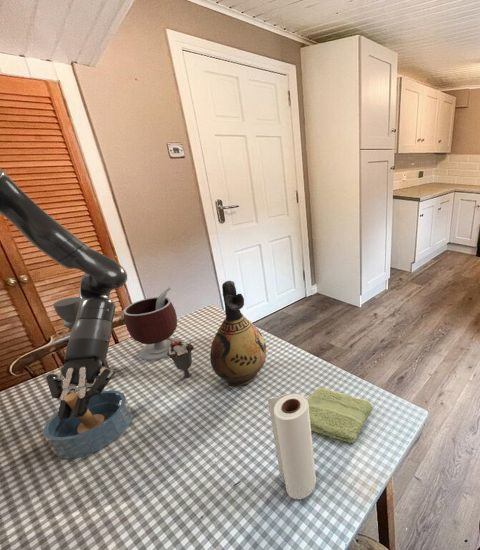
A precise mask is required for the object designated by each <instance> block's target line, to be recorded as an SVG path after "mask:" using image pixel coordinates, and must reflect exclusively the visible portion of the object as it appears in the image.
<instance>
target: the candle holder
mask: <svg viewBox="0 0 480 550" xmlns="http://www.w3.org/2000/svg"><path fill="white" fill-rule="evenodd" d="M52 306H53V308H54V311H55V313H56V316H58V317H59V318H60V319H62V320H63V322H62V326H63V327H64V328H65V327H66V328H67V329H68V331H69V333H70V334H71V330H72V328H73V326H74V324H75V321H76V317H77V313H78V309H79V306H80V299H79V296H74V297H67V298H64V299H60V300H58V301H55V302H54V303H53V304H52ZM104 363H105V367H106V368H108V369H111V368H110V365H109V363H108V360H107V358H106V359H105V360H104ZM98 377H99V375H98V376H97V377H96V380H97V379H98Z"/></svg>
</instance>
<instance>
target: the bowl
mask: <svg viewBox="0 0 480 550" xmlns="http://www.w3.org/2000/svg"><path fill="white" fill-rule="evenodd" d="M88 409H89V411H90V412H91V414H92V415H95V414H102V415H103V416H104V417H105V418H106V421H104V422H103V423H101V424H100V425H98V426H96V427H94V428H92V429H90V430H88V431H86V432H83V433H80V434H79V433H78V432H77V428H78V426H79V424H80V423H81V421H80V420H79V418H78V417H74V412H73V411H71V416H70V417H69V418H63V419H60V418H59V416H58V411H57V412H56V413H54V414H53V415H52V416H51V417H50V418H49V419H48V421H46V423H45V424H44V427H43V430H42V432H43V437H44V439H45V440H46V442H47V444H48V446H49V447H50V450H51V451H52V453H53V454H54V456H56V457H58V459H63V460H64V459H65V460H73V459H77V458H82V457H85V456H88V455H91V454H93V453H96V452H97V451H100V450H101V449H104V448H105V447H107V446H108V445H109V446H110V444H111V443H113V442H114V441H116V440H117V439H118V438H120V436H121V435H122V434H124V433H125V431H127V429H128V428H129V426H130V424H131V423H132V420H133V413H132V409H131V407H130V404H129V402H128V400H127V398H126V396H125V393H123V392H121V391H119V390H111V389H108V390H103V391H102V392H101V393H100V394H99V395H95V396H92V397H91V398H90V401H89V405H88Z"/></svg>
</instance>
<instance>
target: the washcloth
mask: <svg viewBox="0 0 480 550" xmlns="http://www.w3.org/2000/svg"><path fill="white" fill-rule="evenodd" d="M306 399H307V401H308V405H309V415H310V425H311V432H315V433H317V434H319V435H323V436H326V437H328V438H329V437H330V438H332V439H336V440H339V441H342V442H347V443H349V444H351V443H356V442H357V440H358V438H359V434H360V433H361V431H362V429H363V427H364V423H365V421H366V420H367V419H368V418H369V416H370V414H371V413H372V411H373V410H374V405H373V404H372V403H371V402H370V401H369V400H367V399H363V398H359V397H358V398H357V397H354V396H352V395H349V394H346V393H342V392H338V391H335V390H333V389H330V388H327V387H318V388H316V389H315V390H314V391H313V392H312V393H311V395H309V396H308V398H306Z"/></svg>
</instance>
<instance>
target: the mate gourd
mask: <svg viewBox="0 0 480 550" xmlns="http://www.w3.org/2000/svg"><path fill="white" fill-rule="evenodd" d="M170 290H171V288H170V287H167V288H166V289H165V290H164V291H162V293H160V295H158V296H154V297H149V298H148V297H147V298H143V299H140V300H137V301H134V302H131V304H129V305H127V306H125V308H124V309H123V318H124V324H125V327H126V330H127V332H128V334H129V335H130V337H131V338H132V339H133V340H134V341H135V342H137V343H140V344H143V345H145V346H144V347H141V349H140V351H139V357H140V358H141V360H144V361H157V360H161V359H165V358H167V357H168V356H167V353H168V351H169V349H170V347H171V346H170V344H171V341H172V343H175V342H176V341H178V342H179V341H181V339H180V338H177V337H172V336H173V335H174V333H175V331H176V330H177V328H178V316H177V312H176V308H175V307H174V304H173V303H172V301H171V299H170V298H169V297H167V294H168V292H169V291H170ZM168 338H170V339H169V340H167V339H168ZM171 339H172V340H171ZM173 340H174V341H175V342H174V341H173Z"/></svg>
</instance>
